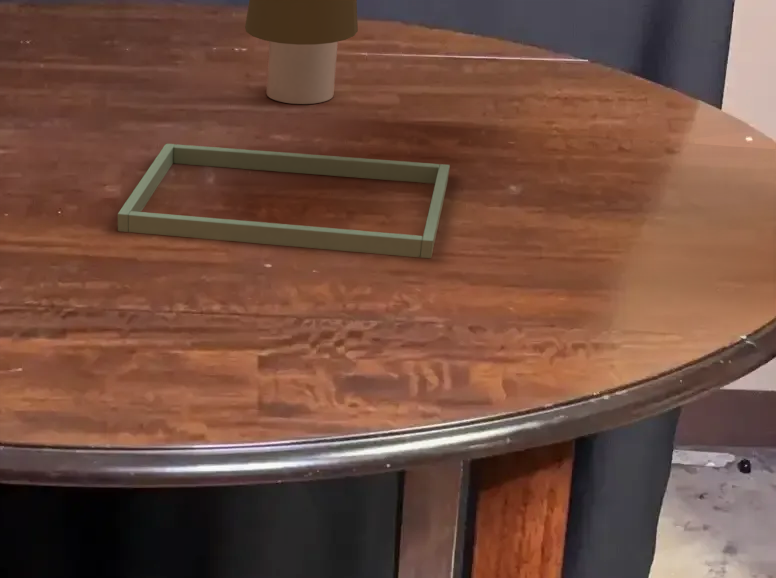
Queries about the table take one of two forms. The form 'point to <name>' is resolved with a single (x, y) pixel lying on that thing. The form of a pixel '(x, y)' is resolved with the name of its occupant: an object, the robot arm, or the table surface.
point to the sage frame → (285, 233)
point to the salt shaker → (301, 72)
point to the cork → (302, 21)
